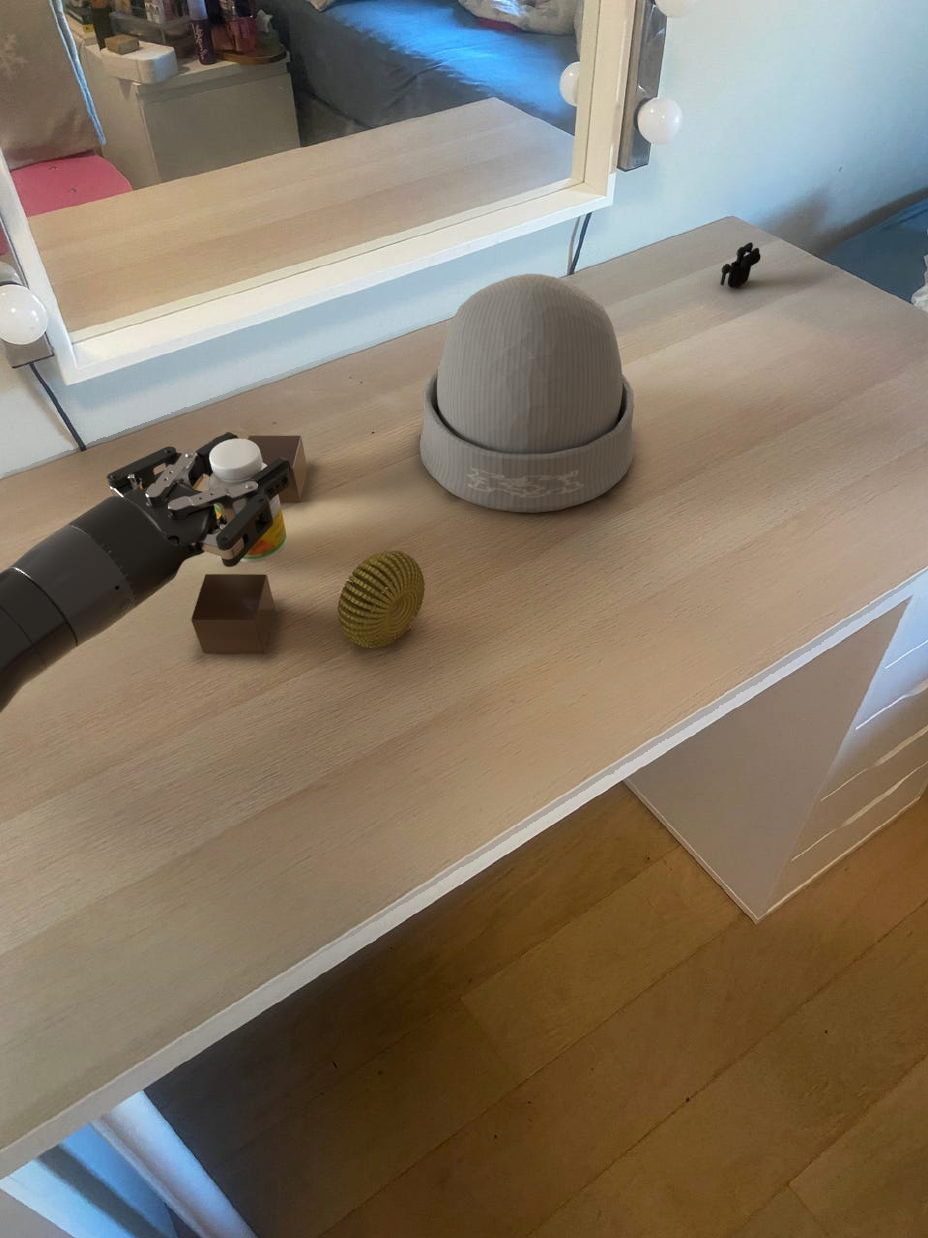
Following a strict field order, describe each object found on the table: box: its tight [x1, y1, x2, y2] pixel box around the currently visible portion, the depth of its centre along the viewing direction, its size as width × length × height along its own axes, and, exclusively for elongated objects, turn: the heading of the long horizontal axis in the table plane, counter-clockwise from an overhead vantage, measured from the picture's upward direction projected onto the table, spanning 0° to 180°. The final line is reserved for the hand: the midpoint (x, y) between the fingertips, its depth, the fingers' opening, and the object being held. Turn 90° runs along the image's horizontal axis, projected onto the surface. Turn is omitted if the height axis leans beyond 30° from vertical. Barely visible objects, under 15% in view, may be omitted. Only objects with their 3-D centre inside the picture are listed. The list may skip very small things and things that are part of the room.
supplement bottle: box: [208, 438, 287, 564], centre depth 75 cm, size 5×5×10 cm
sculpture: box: [337, 550, 426, 649], centre depth 69 cm, size 8×4×8 cm, turn 140°
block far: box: [247, 435, 308, 503], centre depth 84 cm, size 5×5×4 cm
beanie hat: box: [419, 273, 636, 514], centre depth 83 cm, size 21×21×20 cm
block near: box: [190, 573, 276, 655], centre depth 71 cm, size 5×5×4 cm
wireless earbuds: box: [719, 241, 762, 289], centre depth 107 cm, size 7×2×5 cm, turn 132°
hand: (260, 454), depth 74 cm, fingers closed on supplement bottle, 5 cm apart
